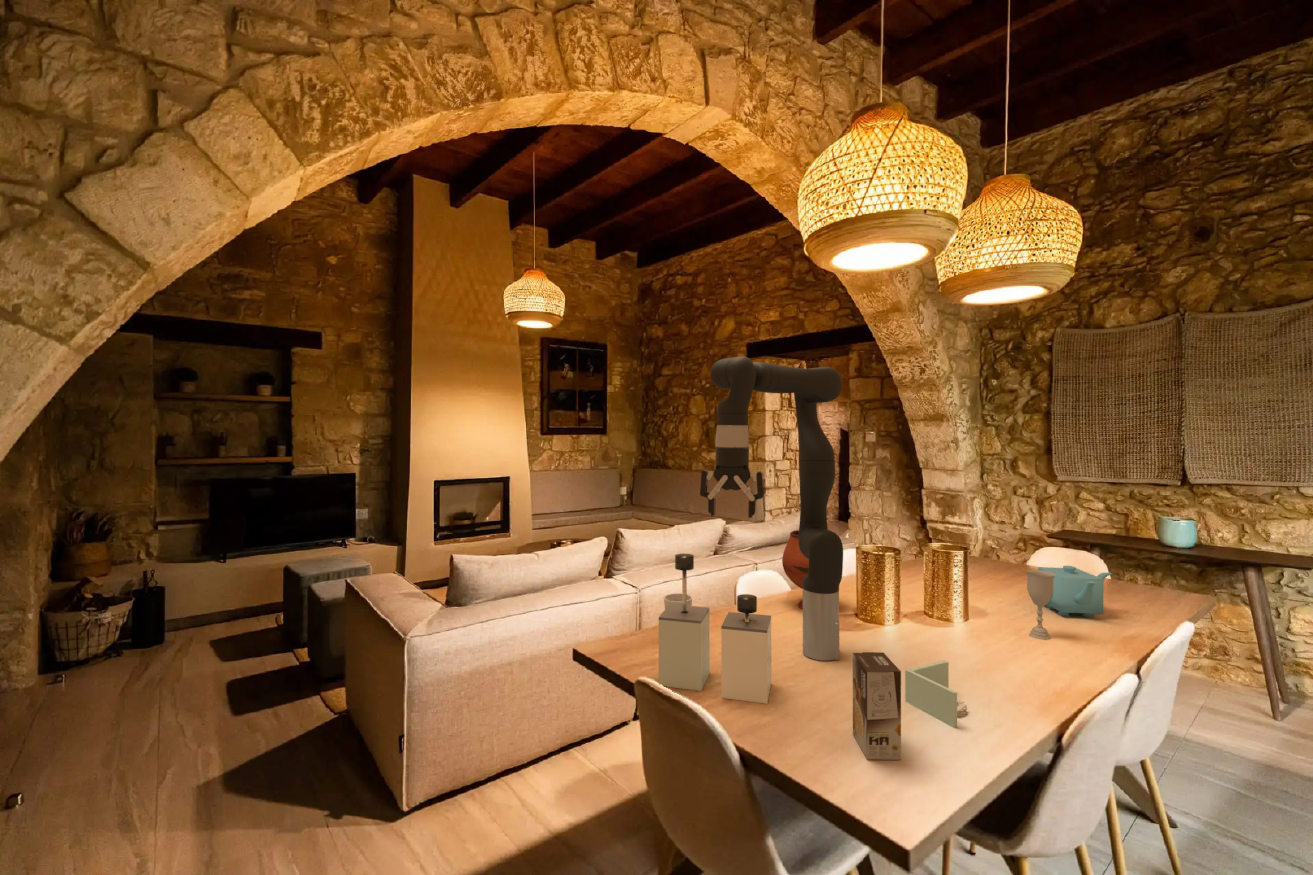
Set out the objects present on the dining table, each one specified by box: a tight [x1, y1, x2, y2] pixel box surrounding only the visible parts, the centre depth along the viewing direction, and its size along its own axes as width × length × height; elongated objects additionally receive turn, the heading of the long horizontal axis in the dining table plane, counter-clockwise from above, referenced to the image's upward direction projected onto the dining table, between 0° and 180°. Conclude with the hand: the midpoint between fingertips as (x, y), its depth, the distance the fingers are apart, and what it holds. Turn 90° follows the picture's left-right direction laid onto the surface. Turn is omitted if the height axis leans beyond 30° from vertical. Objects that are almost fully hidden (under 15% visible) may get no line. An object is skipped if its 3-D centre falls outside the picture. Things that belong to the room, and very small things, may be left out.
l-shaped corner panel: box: [904, 659, 968, 729], centre depth 121 cm, size 12×12×8 cm
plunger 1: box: [674, 553, 695, 614], centre depth 135 cm, size 8×8×19 cm
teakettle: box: [1037, 565, 1113, 618], centre depth 182 cm, size 19×19×15 cm
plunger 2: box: [736, 593, 758, 622], centre depth 129 cm, size 8×8×19 cm
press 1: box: [658, 604, 711, 692], centre depth 135 cm, size 10×10×16 cm
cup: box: [663, 592, 693, 610], centre depth 160 cm, size 8×8×12 cm
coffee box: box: [852, 651, 902, 761], centre depth 106 cm, size 9×6×16 cm
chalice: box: [1024, 569, 1056, 641], centre depth 161 cm, size 7×7×18 cm
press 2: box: [720, 611, 772, 705], centre depth 129 cm, size 10×10×16 cm
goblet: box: [781, 529, 809, 611], centre depth 188 cm, size 19×19×25 cm
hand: (731, 516), depth 130 cm, fingers open, 8 cm apart
